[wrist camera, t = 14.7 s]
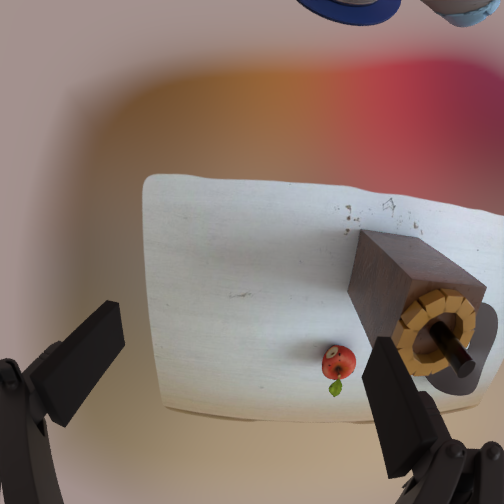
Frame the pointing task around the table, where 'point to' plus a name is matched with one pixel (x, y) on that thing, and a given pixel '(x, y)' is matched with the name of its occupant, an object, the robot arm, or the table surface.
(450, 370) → the dark holed disc
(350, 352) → the apple
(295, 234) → the table surface
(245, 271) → the table surface
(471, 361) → the post
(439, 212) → the table surface
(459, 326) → the ring
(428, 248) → the stand
